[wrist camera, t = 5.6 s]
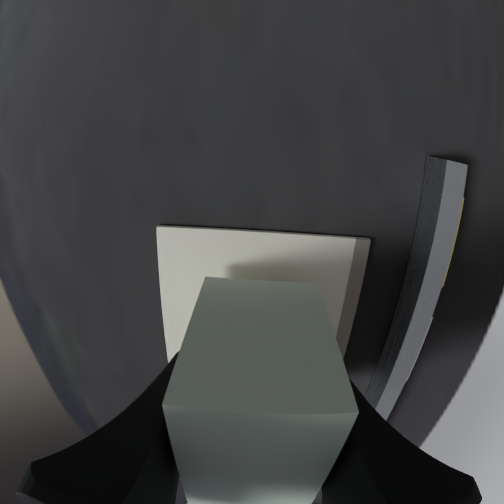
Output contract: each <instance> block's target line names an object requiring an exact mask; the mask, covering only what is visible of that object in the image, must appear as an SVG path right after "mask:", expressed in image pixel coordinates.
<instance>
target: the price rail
mask: <svg viewBox="0 0 504 504" xmlns="http://www.w3.org/2000/svg"><path fill="white" fill-rule="evenodd" d="M467 167H468V165H466V164H462V163H458V162H454V161H450V160H445V159H441V158H436V157H431V156H427V158H426V167H425V175H424V182H423V189H422V195H421V201H420V207H419V213H418V219H417V224H416V229H415V234H414V239H413V244H412V248H411V253H410V257H409V261H408V265H407V270H406V274H405V278H404V281H403V285H402V289H401V293H400V296H399V300H398V303H397V307H396V310H395V314H394V317H393V320H392V323H391V326H390V330H389V333H388V336H387V339H386V342H385V345H384V348H383V351H382V353H381V356H380V359H379V362H378V365H377V367H376V370H375V373H374V375H373V378H372V380H371V383H370V385H369V388H368V390H367V393H366V395H365V398H366V400H367V401H368V402H369V403H370V404H371V405H372V407H373V408H374V409H375V410H376V411H377V412H378V413H379V414H380V415H381V416H382V417H383V418H384V419H385V420H387V418H388V416H389V414H390V412H391V411H392V409H393V407H394V405H395V403H396V401H397V399H398V397H399V395H400V393H401V390H402V388H403V386H404V384H405V382H406V381H407V380H408V378H409V376H410V374H411V371H412V369H413V367H414V365H415V362H416V360H417V358H418V355H419V353H420V350H421V348H422V345H423V343H424V340H425V338H426V335H427V333H428V330H429V327H430V324H431V322H432V319H433V316H432V315H433V312H434V309H435V306H436V303H437V300H438V297H439V294H440V291H441V288H442V287H443V286H444V282H445V279H446V276H447V272H448V268H449V265H450V261H451V257H452V253H453V249H454V245H455V241H456V237H457V233H458V228H459V223H460V219H461V213H462V208H463V203H464V197H463V195H464V188H465V182H466V175H467Z"/></svg>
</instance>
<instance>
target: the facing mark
mask: <svg viewBox="0 0 504 504" xmlns="http://www.w3.org/2000/svg"><path fill="white" fill-rule="evenodd" d="M370 242H371V240H370V239H369V238H362V237H349V236H335V235H321V234H307V233H292V232H276V231H260V230H243V229H226V228H207V227H187V226H166V225H158V226H157V248H158V265H159V279H160V291H161V303H162V313H163V323H164V332H165V340H166V349H167V356H168V363H169V362H170V360H171V359H172V358H173V357H174V355H175V354H176V353H177V352H178V351H180V348H181V345H182V342H183V339H184V336H185V333H186V330H187V327H188V324H189V321H190V319H191V316H192V313H193V310H194V307H195V304H196V301H197V298H198V296H199V293H200V290H201V287H202V284H203V282H204V279H205V276H207V277H221V278H237V279H253V280H270V281H288V282H308V283H317V284H318V287H319V290H320V293H321V296H322V299H323V301H324V304H325V307H326V310H327V313H328V316H329V319H330V322H331V325H332V328H333V331H334V334H335V337H336V340H337V343H338V346H339V349H340V352H341V355H342V358H344V355H345V351H346V348H347V344H348V340H349V337H350V333H351V329H352V325H353V321H354V317H355V313H356V309H357V305H358V301H359V296H360V292H361V287H362V283H363V278H364V273H365V268H366V264H367V258H368V253H369V248H370Z"/></svg>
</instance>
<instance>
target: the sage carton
mask: <svg viewBox="0 0 504 504" xmlns="http://www.w3.org/2000/svg"><path fill="white" fill-rule="evenodd" d="M162 407H163V411H164V416H165V420H166V425H167V429H168V433H169V437H170V442H171V446H172V450H173V453H174V457H175V461H176V465H177V468H178V472H179V476H180V479H181V482H182V486H183V489H184V493H185V496H186V499H187V502H188V504H312V502H313V500H314V499H315V497H316V495H317V494H318V492H319V490H320V488H321V487H322V485H323V483H324V481H325V480H326V478H327V476H328V474H329V472H330V470H331V469H332V467H333V465H334V463H335V461H336V459H337V457H338V455H339V453H340V451H341V449H342V447H343V445H344V443H345V441H346V439H347V437H348V435H349V433H350V431H351V429H352V427H353V424H354V422H355V420H356V418H357V416H358V413H359V411H358V407H357V404H356V400H355V397H354V394H353V390H352V387H351V384H350V381H349V377H348V374H347V371H346V368H345V365H344V362H343V358H342V355H341V352H340V349H339V346H338V343H337V340H336V337H335V334H334V331H333V328H332V325H331V322H330V319H329V316H328V313H327V310H326V307H325V304H324V301H323V299H322V296H321V293H320V290H319V287H318V284H317V283H308V282H288V281H270V280H253V279H237V278H221V277H207V276H205V279H204V282H203V284H202V287H201V290H200V293H199V296H198V298H197V301H196V304H195V307H194V310H193V313H192V316H191V319H190V321H189V324H188V327H187V330H186V333H185V336H184V339H183V342H182V345H181V348H180V351H179V354H178V357H177V360H176V363H175V366H174V369H173V372H172V375H171V378H170V381H169V384H168V387H167V390H166V394H165V397H164V400H163V403H162Z"/></svg>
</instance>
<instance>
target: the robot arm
mask: <svg viewBox="0 0 504 504" xmlns="http://www.w3.org/2000/svg"><path fill="white" fill-rule="evenodd" d="M178 354H179V351H178V352H177V353H176V354H175V355H174V357H173V358H172V359H171V360H170V362H169V363H168V364H167V366H166V367H165V368H164V369H163V370H162V372H161V373H160V374H159V375H158V376H157V377H156V379H155V380H154V381H153V382H152V383H151V384H150V385H149V386H148V387H147V389H146V390H145V391H144V392H143V393H142V394H141V395H140V396H139V397H138V398H136V399H135V400H134V401H133V402H132V403H131V404H130V405H129V406H128V407H127V408H126V409H125V410H124V411H122V412H121V413H120V414H119V415H118V416H116V417H115V418H114V419H112V420H111V421H110V422H109V423H107V424H106V425H104V426H103V427H101V428H100V429H99V430H97V431H96V432H94V433H93V434H91V435H90V436H88V437H86V438H85V439H83V440H81V441H79V442H77V443H75V444H73V445H72V446H70V447H68V448H66V449H64V450H62V451H60V452H57V453H55V454H52V455H50V456H47V457H45V458H42V459H39V460H37V461H34V462H31V464H30V466H29V467H28V469H27V470H26V472H25V474H24V476H23V478H22V480H21V482H20V485H19V487H18V489H17V491H16V495H17V497H18V499H19V500H20V501H21V502H22V503H23V504H175V501H176V493H177V487H178V480H179V472H178V468H177V465H176V461H175V457H174V453H173V450H172V446H171V442H170V437H169V433H168V429H167V425H166V420H165V416H164V411H163V407H162V403H163V400H164V397H165V394H166V390H167V387H168V384H169V381H170V378H171V375H172V372H173V369H174V366H175V363H176V360H177V357H178ZM349 381H350V384H351V387H352V390H353V394H354V397H355V400H356V404H357V407H358V411H359V413H358V416H357V418H356V420H355V422H354V424H353V427H352V429H351V431H350V433H349V435H348V437H347V439H346V441H345V443H344V445H343V447H342V449H341V451H340V453H339V455H338V457H337V459H336V461H335V463H334V465H333V467H332V469H331V470H330V472H329V474H328V476H327V478H326V480H325V481H324V483H323V485H322V502H323V504H479V503H480V502H481V500H482V496H481V494H480V491H479V489H478V486H477V484H476V482H475V480H474V478H473V477H472V476H470V475H467V474H465V473H463V472H460V471H458V470H456V469H454V468H451V467H449V466H447V465H445V464H444V463H442V462H440V461H438V460H437V459H435V458H433V457H432V456H430V455H428V454H427V453H425V452H424V451H422V450H421V449H420V448H418V447H417V446H415V445H414V444H412V443H411V442H410V441H408V440H407V439H406V438H405V437H403V436H402V435H401V434H400V433H399V432H398V431H396V430H395V429H394V428H393V427H392V426H391V425H390V424H389V423H388V422H387V421H386V420H385V419H384V418H383V417H382V416H381V415H380V414H379V413H378V412H377V411H376V410H375V409H374V408H373V407H372V405H371V404H370V403H369V402H368V401H367V400H366V398H365V397H364V396H363V395H362V394H361V392H360V391H359V390H358V389H357V387H356V386H355V385H354V384H353V382H352V381H351V380H350V378H349ZM0 504H1V503H0ZM186 504H188V503H186Z"/></svg>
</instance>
